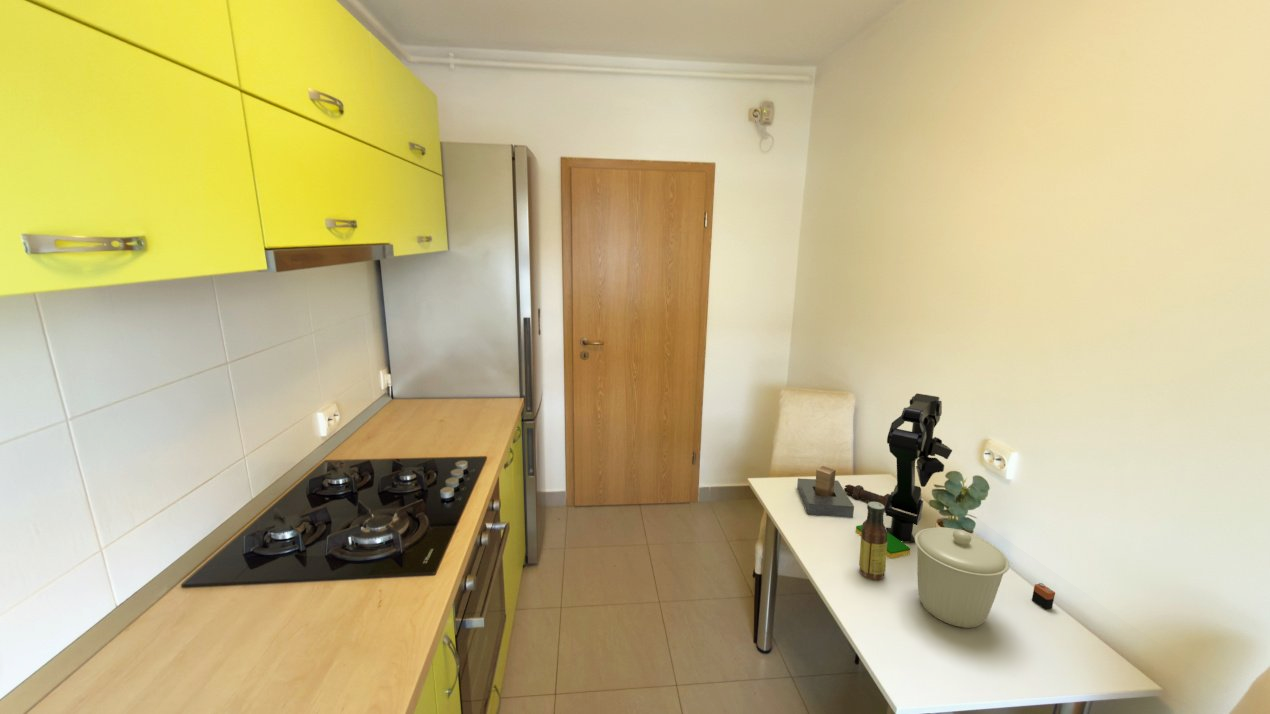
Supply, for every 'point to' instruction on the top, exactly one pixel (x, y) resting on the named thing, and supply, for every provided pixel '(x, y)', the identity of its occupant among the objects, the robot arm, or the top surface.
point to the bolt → (865, 494)
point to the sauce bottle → (873, 543)
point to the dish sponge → (891, 545)
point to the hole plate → (825, 500)
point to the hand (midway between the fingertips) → (916, 479)
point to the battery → (1043, 596)
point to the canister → (958, 575)
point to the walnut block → (825, 481)
